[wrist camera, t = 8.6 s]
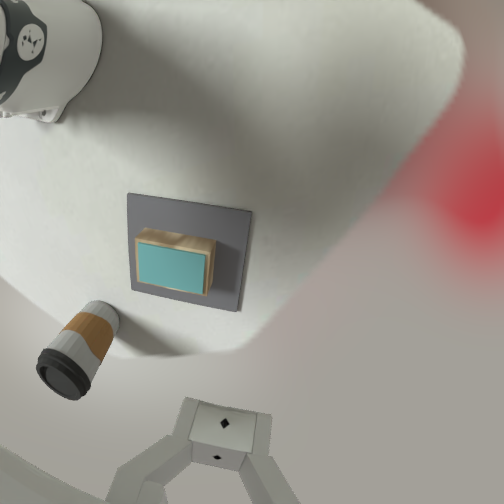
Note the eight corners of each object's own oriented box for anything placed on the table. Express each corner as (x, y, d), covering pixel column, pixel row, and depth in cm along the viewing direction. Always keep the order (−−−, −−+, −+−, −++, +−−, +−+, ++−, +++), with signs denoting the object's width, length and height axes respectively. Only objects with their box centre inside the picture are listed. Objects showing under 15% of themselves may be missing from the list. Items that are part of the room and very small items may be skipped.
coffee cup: (74, 298, 45) (23, 360, 32) (108, 289, 43) (55, 358, 30) (100, 337, 49) (59, 401, 36) (135, 331, 47) (95, 404, 34)
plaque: (212, 282, 40) (146, 269, 40) (216, 240, 37) (145, 227, 37) (206, 297, 37) (136, 282, 37) (209, 253, 34) (133, 239, 34)
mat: (133, 287, 43) (131, 289, 42) (128, 192, 36) (126, 194, 35) (237, 309, 42) (236, 312, 42) (251, 211, 35) (251, 213, 35)
